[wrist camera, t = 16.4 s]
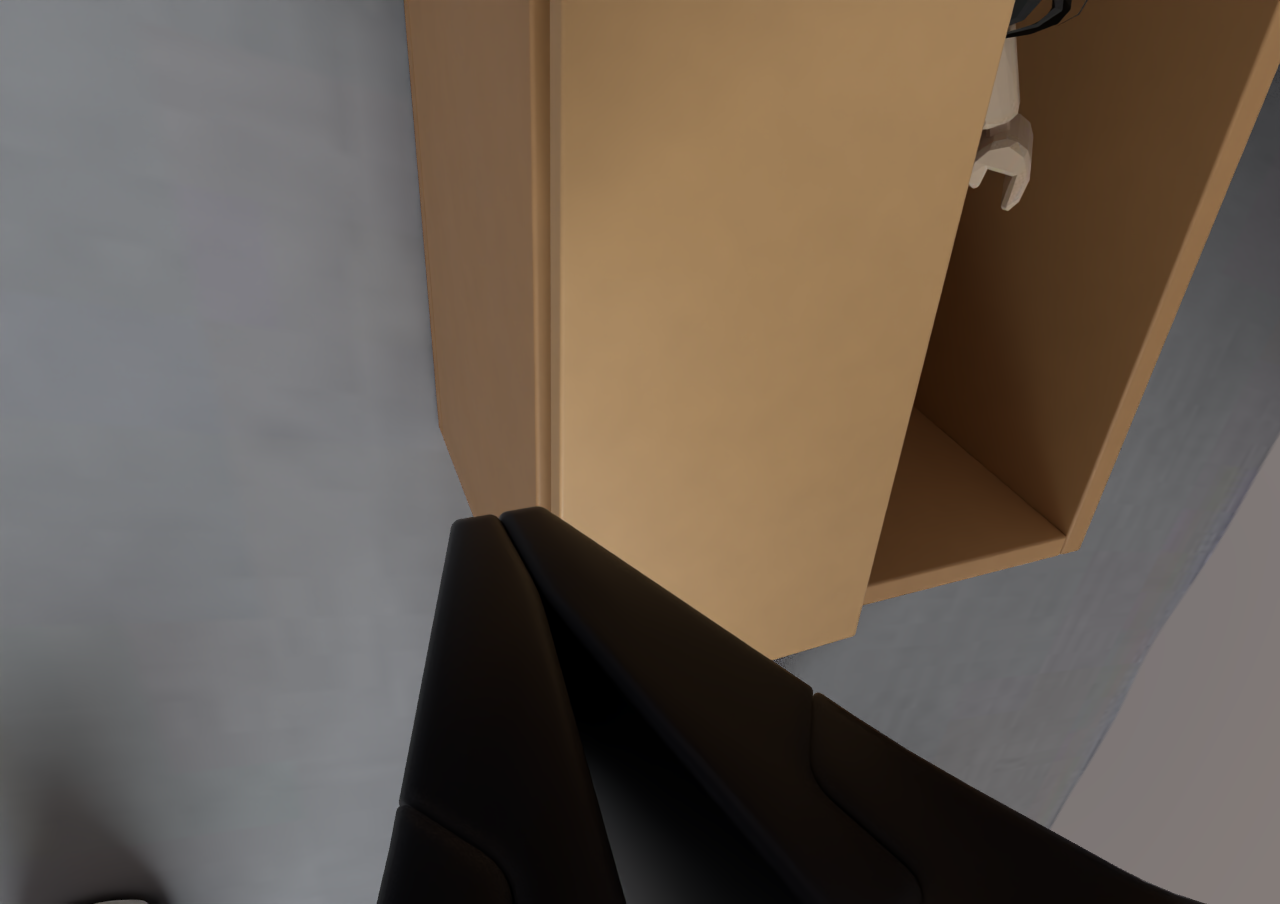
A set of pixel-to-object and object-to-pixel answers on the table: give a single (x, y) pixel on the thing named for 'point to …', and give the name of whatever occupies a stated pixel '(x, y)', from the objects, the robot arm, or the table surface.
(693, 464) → the flap
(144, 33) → the table surface
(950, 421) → the carton
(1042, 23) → the toy figure
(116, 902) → the photo printer
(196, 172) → the table surface
